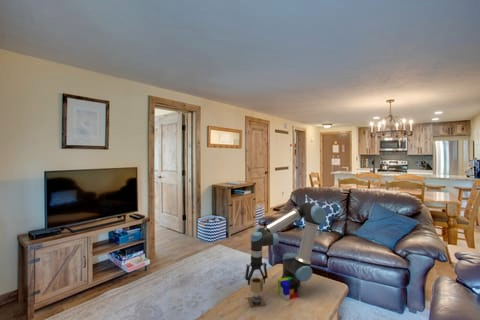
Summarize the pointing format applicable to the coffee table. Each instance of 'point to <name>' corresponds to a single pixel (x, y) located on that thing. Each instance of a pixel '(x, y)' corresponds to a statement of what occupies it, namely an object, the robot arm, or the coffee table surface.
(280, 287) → the puzzle toy
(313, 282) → the coffee table surface
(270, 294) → the coffee table surface
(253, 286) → the ring
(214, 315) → the coffee table surface
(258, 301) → the peg on square base
